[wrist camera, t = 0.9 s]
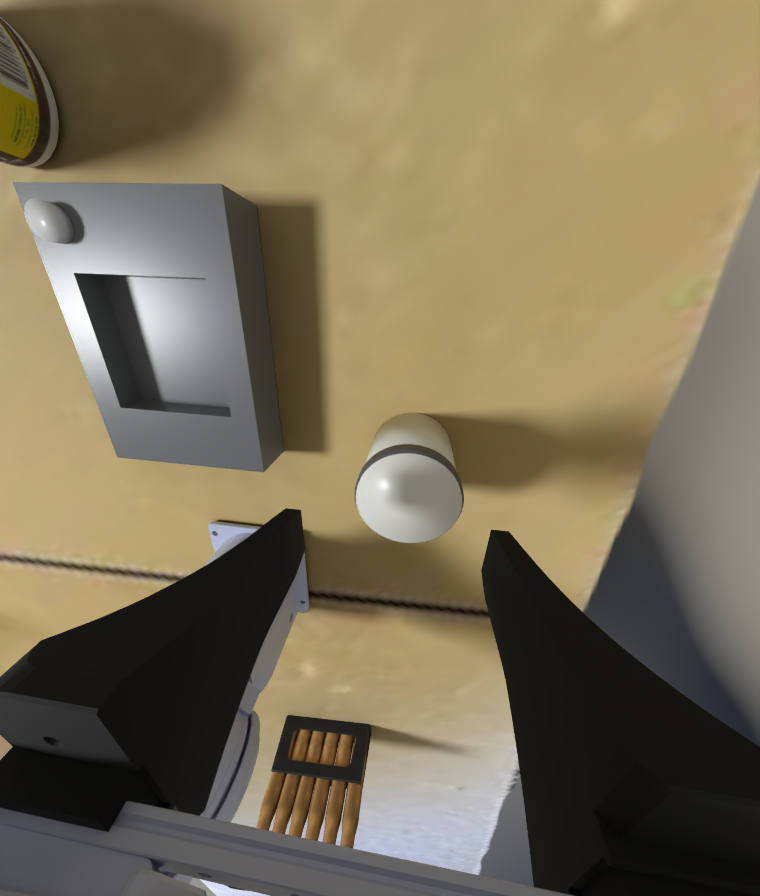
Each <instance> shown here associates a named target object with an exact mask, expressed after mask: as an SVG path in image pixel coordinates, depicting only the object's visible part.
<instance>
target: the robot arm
mask: <svg viewBox="0 0 760 896" xmlns="http://www.w3.org/2000/svg"><path fill="white" fill-rule="evenodd" d="M208 529H209V532H210V536H211V540H212V544H213V548H214V551H215V553H214V555H213V556H212V557H211V558H210V559H209V561H208V562H207V563H206V564H205V565H204V567H203V568H201V569H199V570H197V571H196V572H194V573H192V574H190V575H189V576H187V577H185V578H183V579H182V580H180V581H178V582H176V583H174V584H172V585H170V586H168V587H166V588H164V589H162V590H160V591H158V592H156V593H154V594H152V595H150V596H149V597H146V598H144V599H142V600H140V601H138V602H136V603H134V604H131V605H129V606H127V607H125V608H122V609H120V610H118V611H115V612H113V613H111V614H109V615H106V616H104V617H101V618H99V619H97V620H94V621H92V622H89V623H86V624H84V625H81V626H78V627H76V628H73V629H71V630H68V631H65V632H63V633H60V634H58V635H55V636H52V637H49V638H47V639H44V640H41V641H40V642H39V643H38V644H37V645H36V646H35V647H33V648H32V649H31V650H30V651H29V652H28V653H27V654H25V655H24V656H23V657H22V658H21V659H20V660H19V661H18V662H16V663H15V664H14V665H13V666H12V667H11V668H10V669H9V670H7V671H6V672H5V673H4V674H3V675H2V676H1V677H0V735H1V736H2V737H4V738H5V740H7V741H8V742H9V743H10V744H11V745H12V746H13V747H12V748H11V749H10V750H9V751H8V753H7V754H6V755H5V756H4V757H3V758H2V759H1V760H0V896H206V891H205V890H203V889H201V888H198V887H195V886H193V885H190V884H189V883H190V881H191V879H192V878H193V877H194V878H198V879H202V880H207V881H211V882H215V883H219V884H224V885H228V886H232V887H236V888H241V889H245V890H249V891H253V892H258V893H262V894H266V895H270V896H760V747H759V746H757V745H755V744H754V743H753V742H751V741H750V740H748V739H747V738H745V737H744V736H742V735H741V734H739V733H738V732H736V731H735V730H733V729H732V728H730V727H729V726H727V725H726V724H724V723H723V722H721V721H720V720H718V719H717V718H715V717H714V716H712V715H711V714H709V713H708V712H706V711H705V710H704V709H702V708H701V707H699V706H698V705H697V704H695V703H694V702H692V701H691V700H690V699H688V698H687V697H686V696H684V695H683V694H682V693H680V692H679V691H677V690H676V689H675V688H673V687H672V686H671V685H669V684H668V683H667V682H665V681H664V680H663V679H661V678H660V677H659V676H657V675H656V674H655V673H653V672H652V671H651V670H649V669H648V668H647V667H646V666H645V665H643V664H642V663H641V662H639V661H638V660H637V659H636V658H634V657H633V656H632V655H631V654H630V653H628V652H627V651H626V650H625V649H623V648H622V647H621V646H620V645H618V644H617V643H616V642H615V641H614V640H613V639H612V638H610V637H609V636H608V635H607V634H606V633H605V632H604V631H602V630H601V629H600V628H599V627H598V626H597V625H596V624H595V623H594V622H592V621H591V620H590V619H589V618H588V617H587V616H586V615H585V614H584V613H583V612H582V611H581V610H580V609H578V608H577V607H576V606H575V605H574V604H573V603H572V602H571V601H570V600H569V599H568V598H567V597H566V596H565V595H564V594H563V593H562V591H561V590H560V589H559V588H558V587H557V586H556V585H555V584H554V583H553V582H552V581H551V580H550V579H549V578H548V577H547V575H546V574H545V573H544V572H543V571H542V570H541V569H540V568H539V567H538V565H537V564H536V563H535V562H534V561H533V560H532V558H531V557H530V556H529V555H528V554H527V553H526V551H525V550H524V549H523V548H522V547H521V545H520V544H519V543H518V542H517V541H516V540H515V538H514V537H513V536H512V535H511V534H510V532H508V531H499V530H491V533H490V537H489V541H488V546H487V550H486V554H485V558H484V562H483V566H482V570H481V571H482V579H483V587H484V594H485V600H486V604H487V608H488V612H489V616H490V620H491V623H492V627H493V631H494V635H495V639H496V643H497V646H498V650H499V654H500V658H501V662H502V666H503V670H504V675H505V679H506V685H507V691H508V696H509V702H510V708H511V714H512V721H513V727H514V734H515V740H516V747H517V753H518V760H519V768H520V775H521V782H522V790H523V797H524V805H525V813H526V822H527V829H528V838H529V847H530V855H531V864H532V873H533V883H534V887H531V886H525V885H520V884H516V883H512V882H507V881H502V880H498V879H493V878H488V877H484V876H479V875H474V874H470V873H465V872H460V871H455V870H451V869H446V868H441V867H437V866H432V865H427V864H423V863H418V862H413V861H409V860H404V859H399V858H394V857H390V856H385V855H380V854H376V853H371V852H366V851H362V850H357V849H352V848H348V847H343V846H338V845H333V844H329V843H324V842H319V841H315V840H310V839H305V838H301V837H296V836H291V835H287V834H282V833H277V832H272V831H268V830H263V829H258V828H254V827H249V826H244V825H240V824H235V823H230V822H231V821H232V819H233V817H234V815H235V813H236V811H237V809H238V807H239V805H240V803H241V800H242V798H243V796H244V794H245V791H246V789H247V786H248V784H249V781H250V778H251V775H252V773H253V769H254V766H255V763H256V759H257V754H258V749H259V740H260V738H259V733H260V720H259V716H258V714H257V713H256V712H255V711H253V707H254V705H255V703H256V700H257V698H258V695H259V694H260V693H261V691H262V690H263V689H264V688H265V686H266V685H267V683H268V682H269V680H270V678H271V676H272V674H273V671H274V669H275V666H276V664H277V661H278V659H279V657H280V654H281V652H282V649H283V647H284V644H285V642H286V639H287V637H288V634H289V632H290V629H291V627H292V624H293V622H294V619H295V617H296V614H297V612H301V613H306V612H308V611H309V608H310V605H309V594H308V583H307V572H306V561H305V546H304V536H303V526H302V517H301V510H296V509H284V510H283V511H282V512H280V513H279V514H278V515H276V516H275V517H274V518H272V519H271V520H270V521H269V522H267V523H266V524H265V525H263V526H262V527H259V526H250V525H242V524H233V523H225V522H217V521H213V522H211V523H210V524H209V525H208Z"/></svg>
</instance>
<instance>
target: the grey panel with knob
mask: <svg viewBox="0 0 760 896" xmlns="http://www.w3.org/2000/svg"><path fill="white" fill-rule="evenodd" d="M13 184H14V187H15V190H16V192H17V195H18V197H19V200H20V203H21V205H22V208H23V211H24V213H25V217H26V220H27V223H28V225H29V226H30V229H31V232H32V234H33V237H34V239H35V242H36V245H37V247H38V250H39V252H40V255H41V258H42V260H43V263H44V266H45V268H46V271H47V273H48V276H49V279H50V281H51V284H52V287H53V289H54V292H55V294H56V297H57V300H58V302H59V305H60V308H61V310H62V313H63V315H64V318H65V321H66V323H67V326H68V329H69V331H70V334H71V336H72V339H73V342H74V344H75V347H76V350H77V352H78V355H79V357H80V360H81V363H82V365H83V368H84V371H85V373H86V376H87V378H88V381H89V384H90V386H91V389H92V392H93V394H94V397H95V399H96V402H97V405H98V407H99V410H100V412H101V415H102V418H103V420H104V423H105V426H106V428H107V431H108V433H109V436H110V439H111V441H112V444H113V447H114V449H115V452H116V454H117V457H119V458H129V459H139V460H149V461H159V462H168V463H178V464H188V465H198V466H208V467H217V468H227V469H237V470H247V471H257V472H264V471H265V470H266V469H267V468H268V467H269V466H270V465H271V464H272V463H273V462H274V461H275V460H276V459H277V458H278V457H279V456H280V454H281V453H282V452H283V441H282V432H281V423H280V414H279V405H278V396H277V387H276V378H275V369H274V360H273V350H272V341H271V332H270V323H269V314H268V305H267V296H266V287H265V278H264V269H263V259H262V250H261V241H260V232H259V223H258V214H257V205H255V204H253V203H252V202H250V201H248V200H247V199H245V198H244V197H242V196H240V195H239V194H237V193H235V192H234V191H232V190H230V189H229V188H227V187H225V186H224V185H222V184H145V183H27V182H13Z"/></svg>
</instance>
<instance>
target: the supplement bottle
mask: <svg viewBox="0 0 760 896" xmlns="http://www.w3.org/2000/svg"><path fill="white" fill-rule="evenodd" d="M58 135H59V119H58V112H57V107H56V102H55V98H54V95H53V92H52V89H51V86H50V84H49V81H48V79H47V77H46V75H45V73H44V71H43V69H42V67H41V65H40V63H39V62H38V60H37V58H36V57H35V55H34V54H33V52H32V51H31V49H30V48H29V46H28V45H27V44H26V43H25V41H24V40H23V39H22V38H21V36H20V35H19V34H18V33H17V32H16V31H15V30H14V29H13V28H12V27H11V26H10V25H9V24H8V23H7V22H6V21H5V20H4V19H2V18H1V17H0V162H4V163H6V164H10V165H13V166H18V167H35V166H38V165H41V164H43V163H44V162H46V161H47V160H48V159H49V158H50V157H51V155H52V154H53V152H54V150H55V148H56V145H57V141H58Z"/></svg>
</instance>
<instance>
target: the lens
mask: <svg viewBox="0 0 760 896" xmlns="http://www.w3.org/2000/svg"><path fill="white" fill-rule="evenodd" d="M355 502H356V506H357V509H358V511H359V513H360V515H361V517H362V519H363V520H364V521H365V523H366V524H367V525H368V526H369V527H370V528H371V529H372V530H374V531H375V532H376V533H378V534H379V535H381V536H383V537H385V538H388V539H390V540H393V541H397V542H403V543H420V542H425V541H429V540H432V539H435V538H437V537H439V536H441V535H442V534H444V533H445V532H447V531H448V530H449V529H450V528H451V527H452V526H453V525H454V524H455V522H456V521H457V519H458V518H459V516H460V514H461V511H462V508H463V502H464V495H463V489H462V485H461V480H460V477H459V475H458V472H457V471H456V467H455V462H454V457H453V452H452V448H451V443H450V439H449V436H448V434H447V432H446V430H445V429H444V428H443V426H442V425H441V424H440V423H439V422H437V421H436V420H434V419H433V418H431V417H429V416H426V415H423V414H419V413H404V414H400V415H397V416H394V417H392V418H390V419H389V420H387V421H386V422H385V423H384V424H383V425H382V426H381V427H380V428H379V430H378V431H377V433H376V435H375V438H374V441H373V443H372V446H371V449H370V452H369V455H368V458H367V461H366V463H365V465H364V466H363V468H362V470H361V472H360V475H359V477H358V480H357V483H356V487H355Z"/></svg>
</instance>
